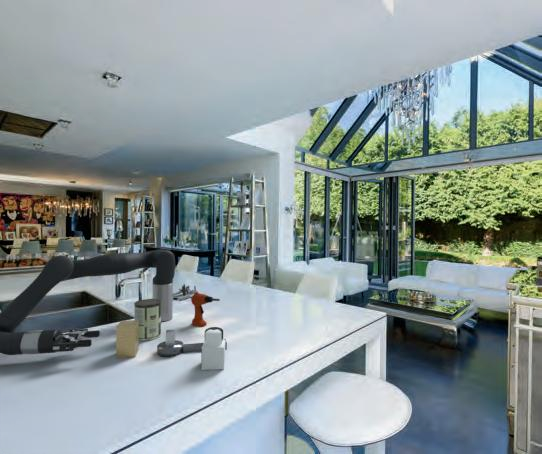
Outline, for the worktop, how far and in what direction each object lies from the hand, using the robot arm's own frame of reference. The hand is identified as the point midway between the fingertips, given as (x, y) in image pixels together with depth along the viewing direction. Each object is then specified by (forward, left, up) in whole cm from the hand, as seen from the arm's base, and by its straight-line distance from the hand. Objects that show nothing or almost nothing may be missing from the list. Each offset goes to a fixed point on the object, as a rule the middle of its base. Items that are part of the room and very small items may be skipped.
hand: (95, 338), depth 107 cm
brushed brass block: (+8, +6, -6) cm, 12 cm away
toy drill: (+15, +42, -7) cm, 45 cm away
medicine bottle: (+40, +12, -7) cm, 43 cm away
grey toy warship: (-30, +79, -7) cm, 85 cm away
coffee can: (+1, +22, -7) cm, 23 cm away
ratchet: (+26, +19, -6) cm, 33 cm away
